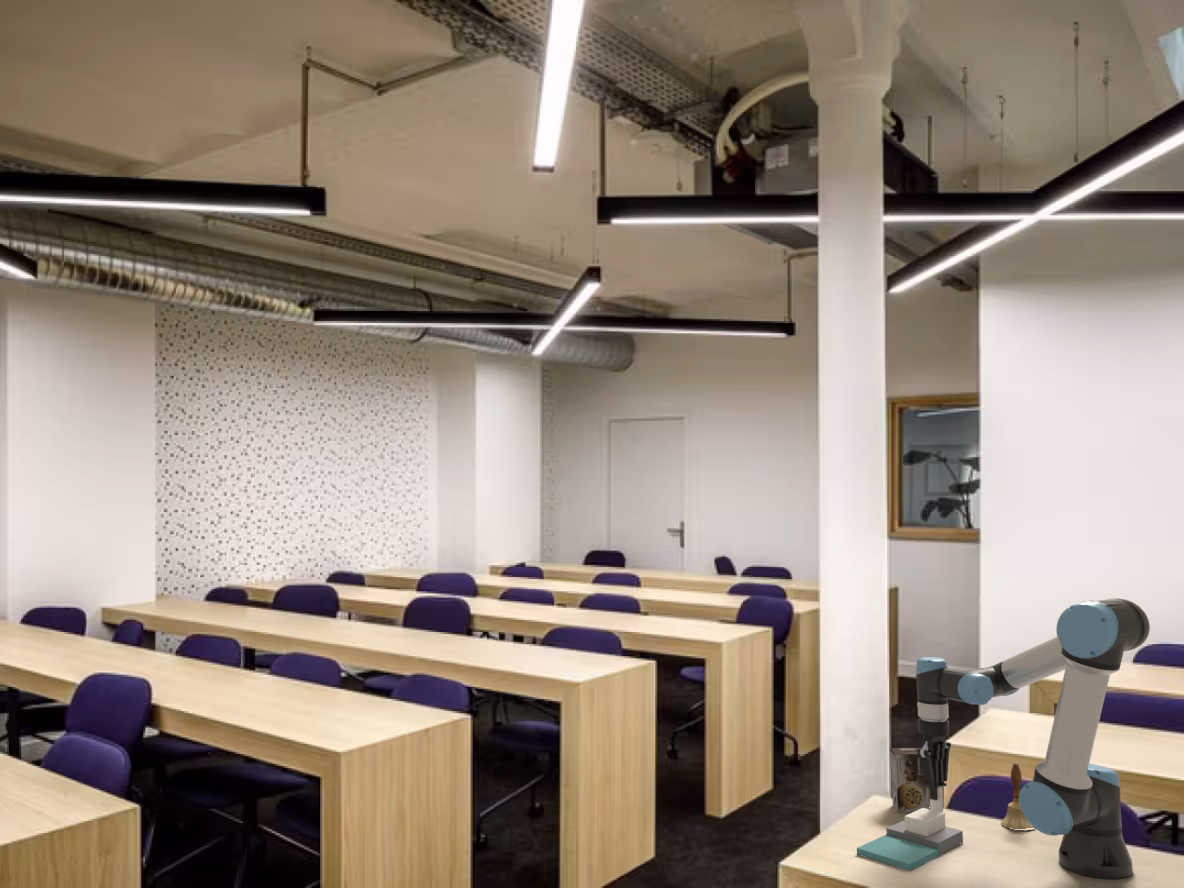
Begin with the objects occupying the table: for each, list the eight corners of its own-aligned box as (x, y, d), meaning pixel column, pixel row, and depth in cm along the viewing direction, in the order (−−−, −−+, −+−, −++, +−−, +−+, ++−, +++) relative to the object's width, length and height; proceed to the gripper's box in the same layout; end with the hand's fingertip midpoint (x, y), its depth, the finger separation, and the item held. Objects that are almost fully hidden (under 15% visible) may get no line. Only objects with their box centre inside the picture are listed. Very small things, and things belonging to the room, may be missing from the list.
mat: (938, 855, 220) (938, 849, 220) (909, 870, 211) (909, 864, 211) (886, 840, 230) (886, 834, 230) (856, 854, 222) (856, 847, 222)
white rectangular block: (945, 827, 230) (944, 813, 231) (927, 836, 224) (926, 821, 225) (923, 821, 235) (922, 807, 235) (905, 830, 229) (904, 816, 229)
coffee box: (924, 805, 256) (922, 747, 257) (931, 813, 250) (928, 753, 251) (891, 805, 257) (889, 747, 258) (897, 813, 251) (894, 753, 252)
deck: (963, 843, 228) (962, 830, 228) (939, 855, 220) (938, 842, 220) (911, 828, 238) (911, 817, 239) (886, 840, 230) (886, 828, 231)
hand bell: (1004, 818, 245) (1001, 758, 246) (1038, 824, 240) (1035, 762, 241) (997, 827, 238) (994, 765, 240) (1032, 834, 234) (1029, 770, 235)
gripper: (932, 712, 243) (936, 802, 241) (906, 720, 234) (910, 814, 233) (959, 716, 237) (963, 809, 235) (933, 725, 229) (937, 821, 227)
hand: (936, 811), depth 234 cm, fingers closed
